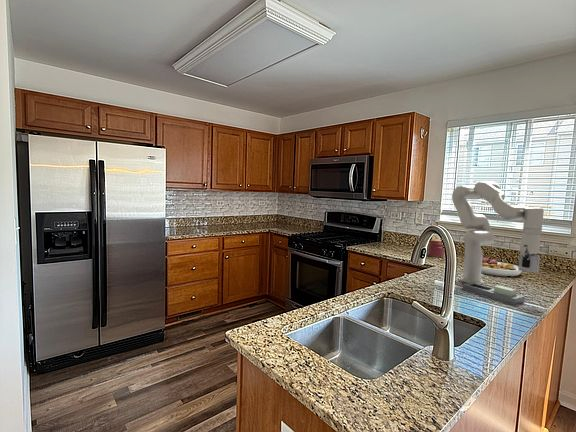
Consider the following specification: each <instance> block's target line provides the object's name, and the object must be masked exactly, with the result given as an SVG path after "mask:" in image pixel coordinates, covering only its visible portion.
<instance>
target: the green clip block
mask: <svg viewBox="0 0 576 432" xmlns="http://www.w3.org/2000/svg"><path fill="white" fill-rule="evenodd" d="M493 288H494V292H495V293H499V294H502V295H506V296H510V297H515V296H516V294H517V289H514V288H511V287H508V286H507V287H506V286H504V285H499V284H498V285H495V286H494V287H493Z"/></svg>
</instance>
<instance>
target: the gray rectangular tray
mask: <svg viewBox="0 0 576 432" xmlns="http://www.w3.org/2000/svg"><path fill="white" fill-rule="evenodd" d="M462 290H463V291H465V292H468V291H469V293H471V294H476V295H480V296H483V297H486V298H489V299H493V300H496V301H500V302H503V303H507V304H510V305H513V306H516V305H520V304H523V303H525V299H526V297H525V296H524V295H521V294H517V293H516V296H515V297H510V296H506V295H502V294H499V293H495V292H494V287H490V286H488V285H483V284H477V283H463V284H462Z"/></svg>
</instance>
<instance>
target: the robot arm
mask: <svg viewBox="0 0 576 432" xmlns="http://www.w3.org/2000/svg"><path fill="white" fill-rule="evenodd" d="M505 197H506V195H505V193H504V192H503V191H502V190H501V187H500V185H499V184H498V183H497V182H495V181H485V180H484V181H483V180H482V181H478V182H476V183H475V184H474V185H459V186H456V187H455V188H454V190H453V191H452V194H451V199H452V203H453V205H454V207H455V209H456V213H457V215H458V219H459V221H460V224H461V226H462V228H463V229H465V230H469V231H467V232H465V234H464V236H463V243H464V255H463V256H464V257H463V259H464V260H463V271H462V276H461V277H459V280H460V281H461V282H463V283H465V284H468V283H477V284H480V285H483V284H484V280H483V279H482V278H484V277H485V275H484V273H481V271H482V258H484V257H483V255H484V254H483V253H484V251H483V249H482V246H483V247H484V246H486V247H487V246H490V245H492V244H493V243H494V241H495V236H494V232H493V230H492V227H491V224H490V223H489V220H488V218H487V216H485V215H483V214H481V213H475V211H474V210H473V206H472V205H471V204H470V202H469V201H468V200H481V199H483V200H485V201H487V202H488V203H489V204H491V208H492V210H493V211H494V212H495V214H497V215H499V216H500V217H502V218H503V219H505V220H507V221H523V228H522V237H521V240H520V247H519V254H522V267H526V268H529V267H530V260H529V259H530V255H531V254H532V255H538V253H540V247H541V236H542V232H543V222H544V221H543V220H544V213H545V212H544V208H542V207H533V206H532V207H531V206H525V205H524V206H523V205H521V206H520V205H511V204H509V203H508V202H506V201H504V200H505ZM527 255H528V256H527Z"/></svg>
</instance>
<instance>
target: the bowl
mask: <svg viewBox="0 0 576 432" xmlns="http://www.w3.org/2000/svg"><path fill="white" fill-rule="evenodd" d="M518 267H519V265H515V264H512V263H507V262H506V263H505V262H502V261H501V262H500V261H497V259H494V258H493V259H491V260H490V258H488V257H483V258H482V271H481V274H485V275H490V276H497V277H507V276H511V277H517V276H519V275H521V273H522V272H523V271H521V270H518Z"/></svg>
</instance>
